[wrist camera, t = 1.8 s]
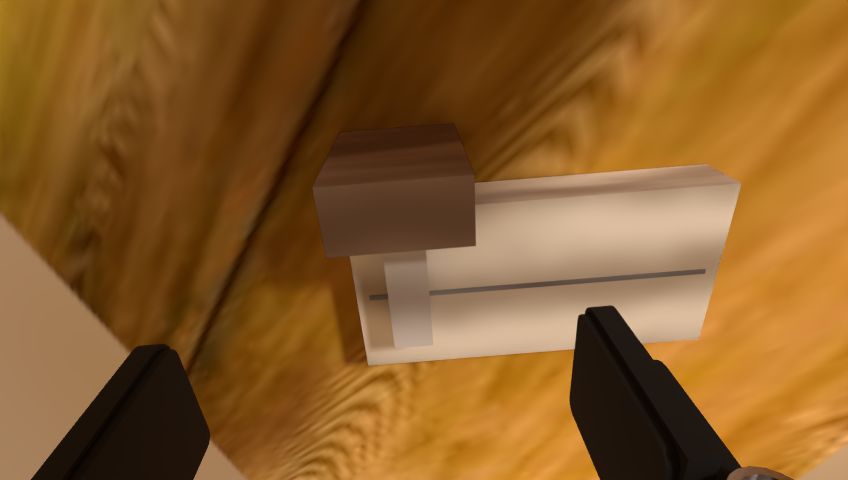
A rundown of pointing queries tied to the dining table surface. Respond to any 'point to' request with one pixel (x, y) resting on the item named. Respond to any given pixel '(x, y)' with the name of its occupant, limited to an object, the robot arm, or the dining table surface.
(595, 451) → the robot arm
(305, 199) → the dining table surface
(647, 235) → the birch plank
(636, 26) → the dining table surface
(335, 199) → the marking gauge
